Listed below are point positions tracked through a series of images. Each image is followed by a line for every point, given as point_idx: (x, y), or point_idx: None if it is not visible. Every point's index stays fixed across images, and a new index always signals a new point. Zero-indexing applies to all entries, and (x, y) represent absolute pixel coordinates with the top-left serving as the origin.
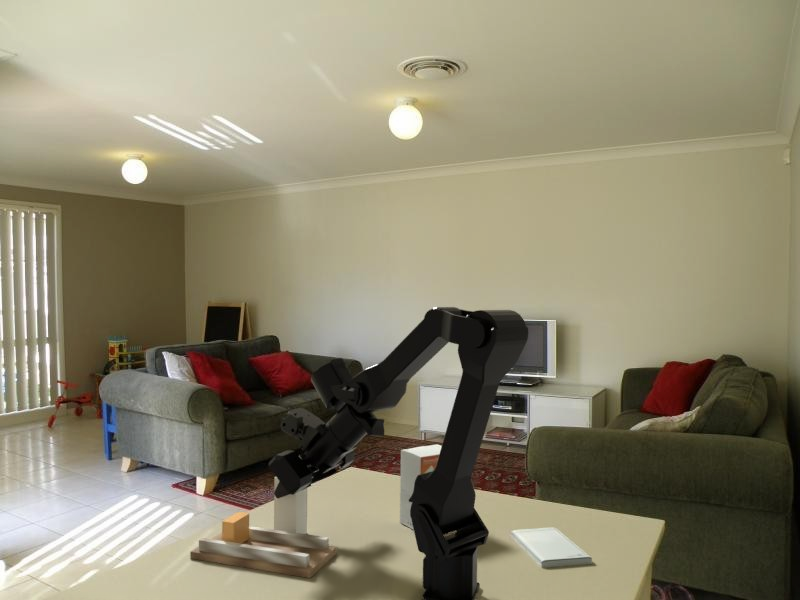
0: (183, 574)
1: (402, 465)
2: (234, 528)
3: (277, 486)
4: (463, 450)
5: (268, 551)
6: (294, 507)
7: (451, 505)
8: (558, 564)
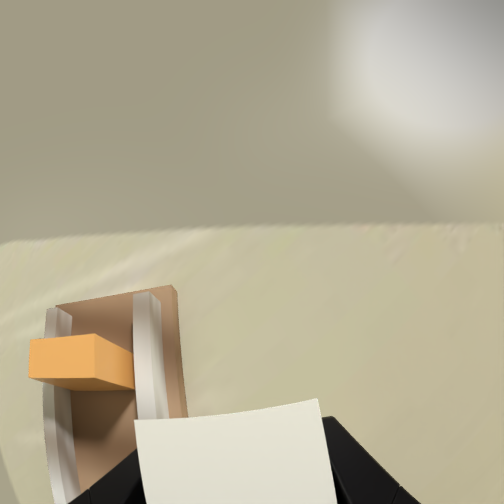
0: (19, 346)
1: None
2: (42, 381)
3: (126, 459)
4: None
5: (54, 496)
6: None
7: None
8: None
